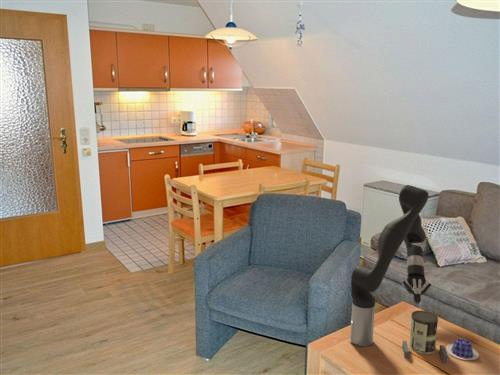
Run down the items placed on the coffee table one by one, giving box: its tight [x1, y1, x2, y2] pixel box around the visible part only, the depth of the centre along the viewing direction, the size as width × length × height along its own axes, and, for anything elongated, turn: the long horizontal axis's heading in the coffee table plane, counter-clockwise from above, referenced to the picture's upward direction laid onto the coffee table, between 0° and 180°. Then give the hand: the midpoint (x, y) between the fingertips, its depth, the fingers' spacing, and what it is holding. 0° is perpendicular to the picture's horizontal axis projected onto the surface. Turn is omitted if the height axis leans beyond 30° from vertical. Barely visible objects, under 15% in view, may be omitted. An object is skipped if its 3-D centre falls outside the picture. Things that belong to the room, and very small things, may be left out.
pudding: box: [445, 337, 480, 361], centre depth 180 cm, size 12×12×5 cm
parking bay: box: [401, 340, 449, 364], centre depth 179 cm, size 16×8×3 cm, turn 78°
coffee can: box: [408, 310, 439, 355], centre depth 183 cm, size 10×10×14 cm
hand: (417, 302), depth 199 cm, fingers closed
